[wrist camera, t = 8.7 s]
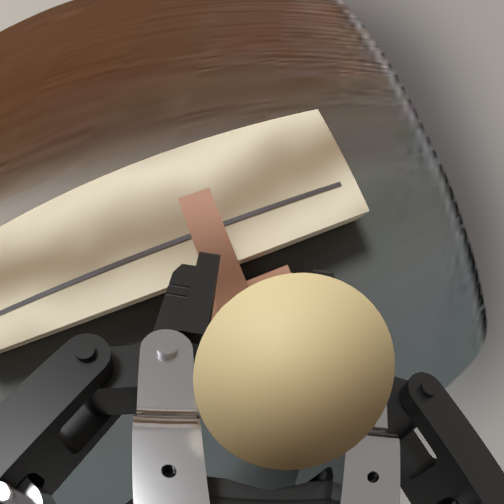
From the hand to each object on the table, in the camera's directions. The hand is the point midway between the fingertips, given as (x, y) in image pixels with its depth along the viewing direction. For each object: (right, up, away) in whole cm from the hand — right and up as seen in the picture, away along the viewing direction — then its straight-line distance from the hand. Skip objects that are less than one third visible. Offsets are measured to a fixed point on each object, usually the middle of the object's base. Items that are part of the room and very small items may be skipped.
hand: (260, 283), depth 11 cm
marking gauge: (-2, -1, +6) cm, 6 cm away
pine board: (-7, +2, +6) cm, 10 cm away
